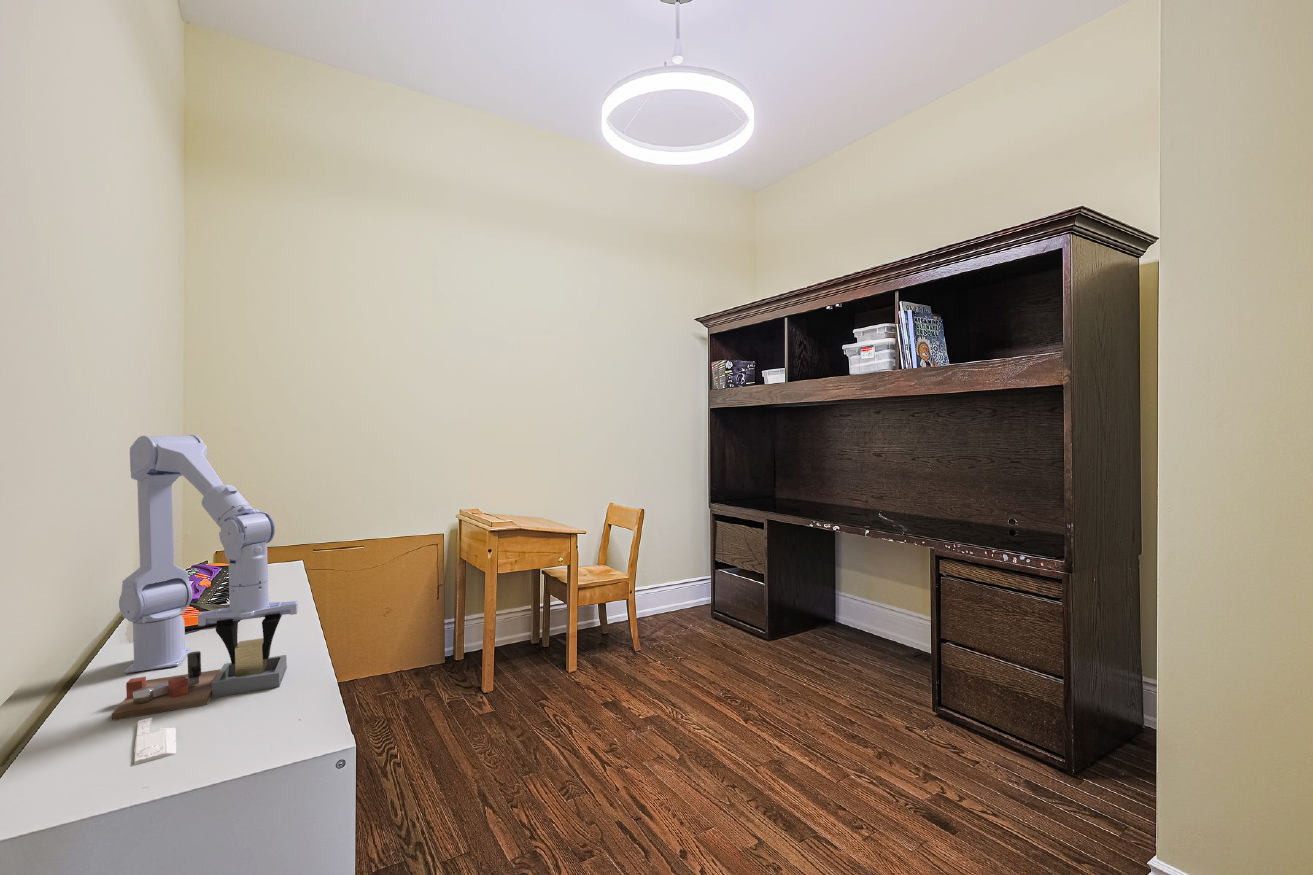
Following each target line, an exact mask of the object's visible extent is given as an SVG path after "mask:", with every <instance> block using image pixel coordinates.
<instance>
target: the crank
mask: <svg viewBox="0 0 1313 875" xmlns="http://www.w3.org/2000/svg"><path fill="white" fill-rule="evenodd" d="M186 657H187V674H188V677H186V678H188V687H189V686H192V685H195V684H199V676H201V672H202V653H201V651H199V650H197V651H196V650H195V651H192V652H191V651H190V652H189V653H188V654H187V656H186ZM166 693H169V689H168V682H167V683H164V684H160V685H157V686H154V687H152V686H149V687H143V688H139V689H136V690H134V691H133V703H143V702H147V701H150V700H152V699H153V698H154V697H156V696H159V695H162V694H166Z"/></svg>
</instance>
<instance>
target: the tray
mask: <svg viewBox="0 0 1313 875" xmlns="http://www.w3.org/2000/svg"><path fill="white" fill-rule="evenodd" d="M266 661H267V666H266V668H265V670H264V672H263V673H261V674H255V675H248V676H242V677H236V671H235V664H231V662H227V663H224V664H223V665H222V667H221V668H220V669H221V670H220V671H219V673H218V674H217V676H216V677H215V679H214V681H213V682H212V697H211V699H213V698H218V697H226V696H231V695H239V694H244V693H249V692H256V691H261V690H269V689H274V688H280V687H281V684H282V680H283V678H284V676H285V673H286V670H287V665H288V663H287V654H283V655H277V656H276V655H275V656H271V657H270V656H269V658H268V659H266Z"/></svg>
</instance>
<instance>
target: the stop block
mask: <svg viewBox="0 0 1313 875" xmlns="http://www.w3.org/2000/svg"><path fill="white" fill-rule="evenodd" d="M263 644H264V640H263V637H262V638H256V639H248V640H247V639H246V640H239V641H238V644H237V646H236V648H235V671H236V677H242V676H248V675H255V674H261V673H263V672H264V670H265V668H266V666H267V661H266V659H264V660H263Z"/></svg>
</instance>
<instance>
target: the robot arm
mask: <svg viewBox="0 0 1313 875" xmlns="http://www.w3.org/2000/svg"><path fill="white" fill-rule="evenodd" d="M207 458H208V446H207V445H206V444H205V442H204V441H203V439H202V438H201V437H200V436H199V435H196V434H190V435H166V436H165V435H164V436H161V435H158V436H157V435H153V436H152V435H151V436H149V435H140V436H138V437H137V439H136V440H135V441H134V442H132V444H131V446H130V447H129V467H130V468H129V471H130V478H131V479H133V480H135V481H137V482H136V483H137V484H136V485H137V512H138V513H137V514H138V516H137V517H138V539H139V540H138V544H139V545H138V546H139V550H138V551H139V567H138V568H137V569H136V570H135V571H134V572H133V573H131V574H130V575H129V576H126V577H125V578H124V579H123V580H122V584H121V586H122V587H121V593H120V596H119V599H118V607H119V611H120V614H121V615H122V616H123V618H125V620H127V621H128V622H131V623H132V638H133V639H132V642H133V644H132V645H133V646H132V647H133V663H132V664H131V665H130V666H129V667H127V669H125V670H124V671H125V674H129V673H135V672H136V673H137V672H143V671H149V670H150V671H151V670H156V669H157V670H158V669H164V668H165V669H166V668H171V667H177V666H179V665H180V664H181V663H182V662H183V661H184V659H186V657H187V654H188V653H191V651H192V648H191V647H188V648H186V631H185V629H186V626H185V625H186V624H185V619H184V617H183V616H182V614H185V613H186V608H188V606H190V604H191V601H192V599H193V588H192V585H191V583H190V579H189V572H188V571H187V570H186V569H184V568H182V567H180V566H177V565H176V564H175V546H174V544H175V543H174V542H175V541H174V516H173V515H174V514H173V484H174V483H175V482H176V481H177V479H179V478H180V477H184V478H185V479H186V480H187V481H188V482H189V483H190V484H191V485H192V486H193V487H194V488H195V489H196V490H197V491H198V492H199V493H200V494H201V495H202V496H203V497H202V500H201V506H202V508H203V509H204V510H205V511H206V513H207V514H208V515H209V516H210V518H211V519H212V520H213V521H214V522H215V524H216V525H217V526H218V527H219V528H220V531H219V533H218V536H219V541H220V544H221V545H222V547H223V551H224V552H223V553H224V556H225V559H226V560H228V591H229V592H228V594H229V595H228V596H229V599H228V600H229V607H225V608H219V609H218V608H217V609H214V610H207V611H200V613H199V614H197V625H198V627H203V626H206V625H208V624H209V625H210V624H216V627H215V632H216V634H217V635H218V636H219V637H220V639H221V641H222V643H223V644H224V646H225V648H226V650H227V653H228V655H229V658H230V659H229V660H230V663H231V664H235V648H236V646H237V644H238V643H239V641H238V628H239V626H238V625H239V621H242V620H251V619H258V618H263V619H262V621H261V626H262V627H261V628H262V636H263V637H262V638H263V640H264V644H263V660H264V659H268V658H269V657H270V654H271V647H272V642H273V639H274V636H275V633H276V630H277V627H278V625H279V623H280V620H281V618H282V616H284V615H290V616H291V615H297V613H298V611H299V610H298V608H299V605H298V604H299V603H298V600H294V601H292V600H291V601H277V602H274V601H273V602H269V567H268V544H269V543H270V542H272V540H273V538H274V536H275V532H276V530H275V526H276V525H275V523H274V521H273V520H274V519H273V518H272V517H271V515H270V513H268V512H267V511H260V510H259V509H257V508H256V509H254V508H253V507H252V506H251V505H250V503H249V502H248V501H247V499H245V497H244V496H243V494H241V493H240V491H238V489H237V488H236V486H234V485H231V484H224V483H223V482H222V480H221V479H220V477H219V475H218V474H217V473H216V471H215V470H214V468H213V466H212V464H211V463H210V462H209V461H208V459H207Z"/></svg>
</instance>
